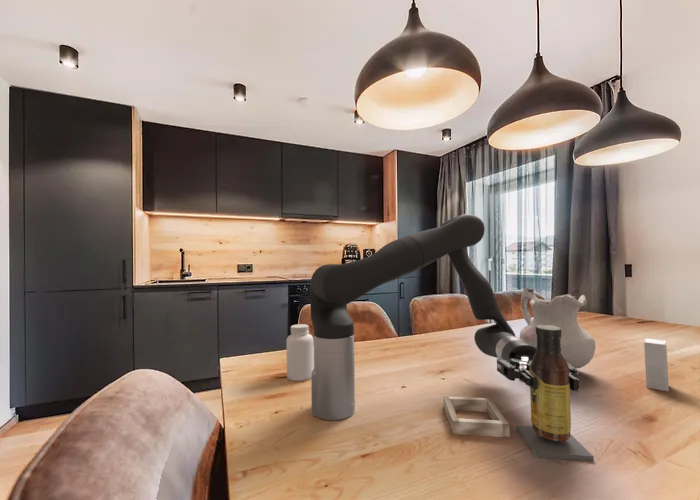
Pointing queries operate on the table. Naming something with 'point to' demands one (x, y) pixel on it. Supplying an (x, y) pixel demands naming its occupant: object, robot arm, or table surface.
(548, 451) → the coaster
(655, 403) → the table surface
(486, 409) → the pocket frame
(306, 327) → the pill bottle
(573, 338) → the ceramic pitcher
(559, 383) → the sauce bottle
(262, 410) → the table surface
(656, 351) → the skincare box
